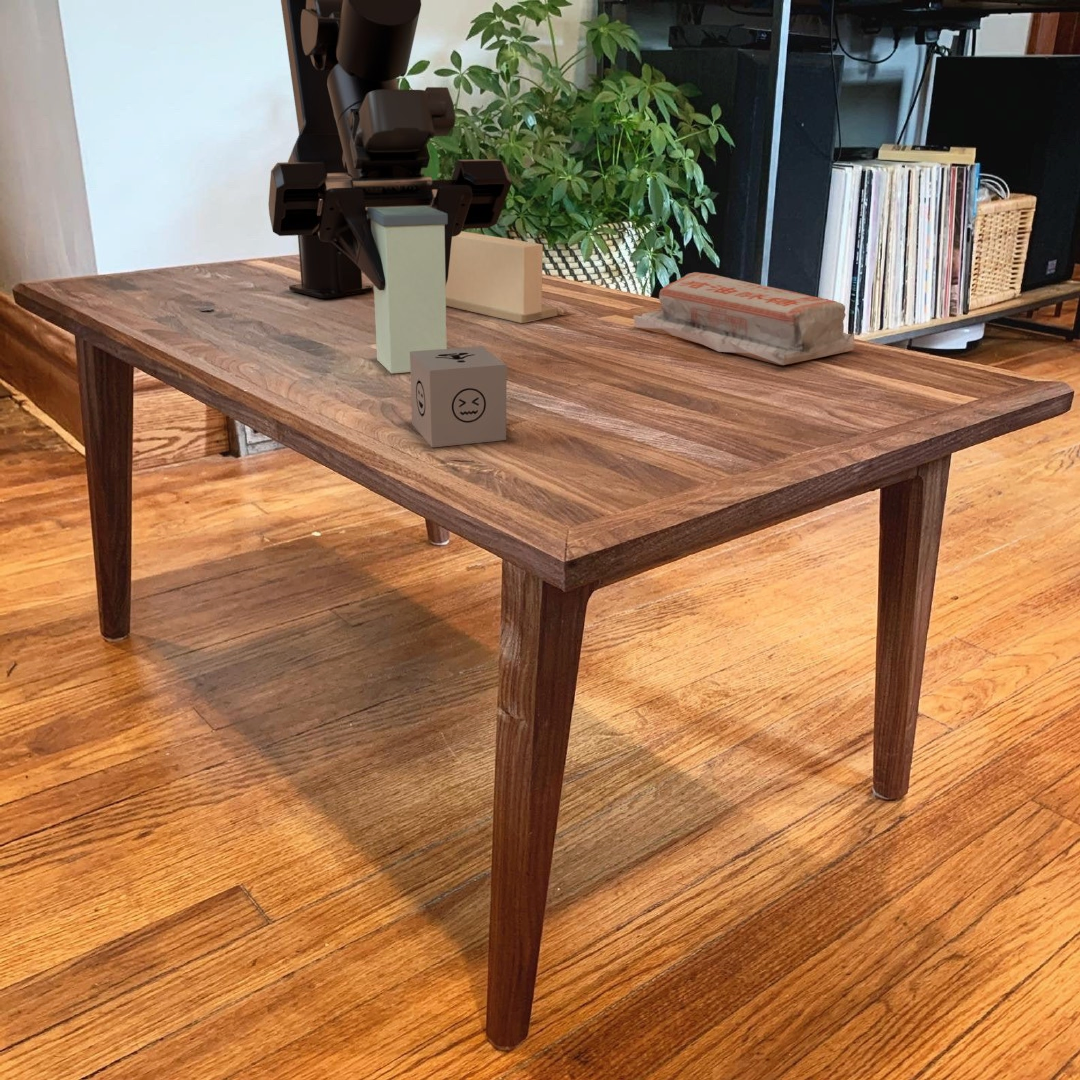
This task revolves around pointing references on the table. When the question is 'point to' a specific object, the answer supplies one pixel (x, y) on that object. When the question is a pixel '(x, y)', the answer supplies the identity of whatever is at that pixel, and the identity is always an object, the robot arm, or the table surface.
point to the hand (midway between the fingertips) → (413, 285)
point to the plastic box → (409, 283)
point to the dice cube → (458, 396)
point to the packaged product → (749, 319)
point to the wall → (497, 277)
